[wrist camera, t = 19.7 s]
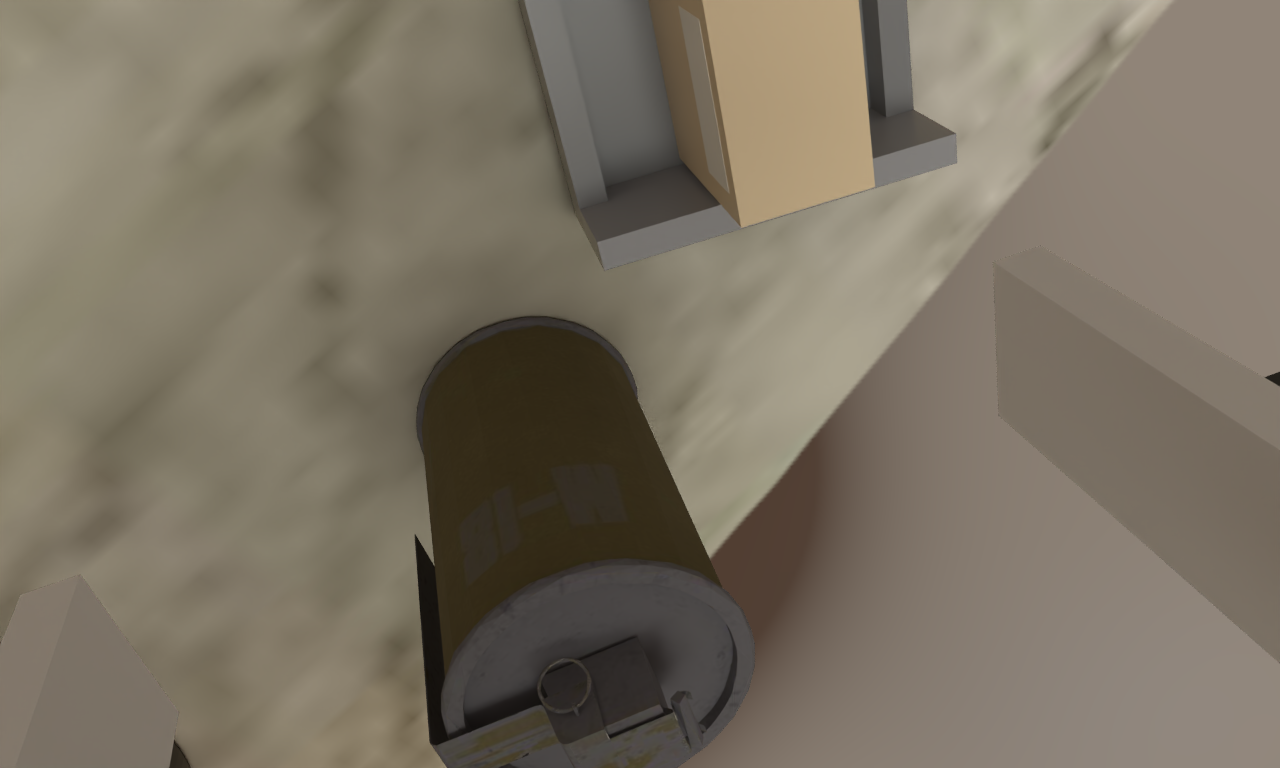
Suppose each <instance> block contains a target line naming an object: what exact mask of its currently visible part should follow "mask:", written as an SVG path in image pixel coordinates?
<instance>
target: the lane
mask: <svg viewBox="0 0 1280 768" xmlns="http://www.w3.org/2000/svg"><path fill="white" fill-rule="evenodd" d="M518 1H519V5H520V9H521V12H522V16H523V20H524V24H525V27H526V31H527V35H528V39H529V42H530V46H531V50H532V53H533V57H534V61H535V65H536V68H537V72H538V76H539V80H540V83H541V87H542V91H543V94H544V98H545V102H546V106H547V109H548V113H549V117H550V120H551V124H552V128H553V132H554V135H555V139H556V143H557V147H558V150H559V154H560V158H561V161H562V165H563V169H564V173H565V176H566V180H567V184H568V188H569V191H570V195H571V199H572V202H573V206H574V210H575V214H576V216H577V218H578V220H579V222H580V224H581V226H582V228H583V230H584V232H585V234H586V236H587V238H588V240H589V241H590V243H591V245H592V247H593V249H594V251H595V253H596V255H597V257H598V259H599V261H600V263H601V265H602V267H603V269H604V271H605V270H609V269H612V268H615V267H618V266H622V265H625V264H628V263H632V262H635V261H638V260H641V259H645V258H648V257H651V256H654V255H658V254H661V253H664V252H668V251H671V250H674V249H677V248H681V247H684V246H687V245H690V244H694V243H697V242H700V241H704V240H707V239H710V238H713V237H717V236H720V235H723V234H726V233H730V232H733V231H736V230H740V229H743V228H746V227H749V226H753V225H756V224H759V223H762V222H766V221H769V220H772V219H776V218H779V217H782V216H785V215H789V214H792V213H795V212H798V211H802V210H805V209H808V208H812V207H815V206H818V205H821V204H825V203H828V202H831V201H834V200H838V199H841V198H844V197H848V196H851V195H854V194H857V193H861V192H864V191H867V190H870V189H874V188H877V187H880V186H884V185H887V184H890V183H893V182H897V181H900V180H903V179H906V178H910V177H913V176H916V175H920V174H923V173H926V172H929V171H933V170H936V169H939V168H942V167H946V166H949V165H952V164H956V163H957V146H956V133H954V132H952V131H950V130H949V129H947V128H945V127H943V126H942V125H940V124H938V123H936V122H935V121H933V120H931V119H929V118H928V117H926V116H924V115H922V114H920V113H919V112H917V111H915V110H914V109H913V93H912V77H911V61H910V45H909V29H908V13H907V0H859V10H860V21H861V33H862V44H863V55H864V67H865V78H866V89H867V101H868V112H869V123H870V135H871V146H872V157H873V169H874V180H875V187H873V188H870V189H867V190H864V191H860V192H857V193H854V194H851V195H847V196H844V197H841V198H837V199H834V200H831V201H828V202H824V203H821V204H818V205H815V206H811V207H808V208H805V209H801V210H798V211H795V212H792V213H788V214H785V215H782V216H779V217H775V218H772V219H769V220H765V221H762V222H759V223H756V224H752V225H749V226H746V227H743V228H741V227H740V226H739V225H738V224H737V222H736V221H735V220H734V219H733V218H732V217H731V216H730V214H729V213H728V212H727V211H726V210H725V209H724V208H723V207H722V205H721V204H720V203H719V202H718V201H717V200H716V199H715V197H714V196H713V195H712V194H711V193H710V192H709V191H708V190H707V188H706V187H705V186H704V185H703V184H702V183H701V182H700V180H699V179H698V178H697V177H696V176H695V175H694V174H693V172H692V171H691V170H690V169H689V168H688V167H687V166H686V165H685V163H684V162H683V161H682V160H681V159H680V157H679V152H678V147H677V142H676V137H675V132H674V127H673V122H672V117H671V112H670V107H669V102H668V97H667V92H666V87H665V82H664V77H663V72H662V67H661V62H660V57H659V52H658V47H657V42H656V37H655V32H654V27H653V22H652V17H651V12H650V7H649V2H648V0H518Z"/></svg>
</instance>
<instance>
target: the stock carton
mask: <svg viewBox="0 0 1280 768" xmlns="http://www.w3.org/2000/svg"><path fill="white" fill-rule="evenodd" d="M648 2H649V7H650V12H651V17H652V22H653V27H654V32H655V37H656V42H657V47H658V52H659V57H660V62H661V67H662V72H663V77H664V82H665V87H666V92H667V97H668V102H669V107H670V112H671V117H672V122H673V127H674V132H675V137H676V142H677V147H678V152H679V157H680V159H681V160H682V161H683V162H684V163H685V165H686V166H687V167H688V168H689V169H690V170H691V171H692V172H693V174H694V175H695V176H696V177H697V178H698V179H699V180H700V182H701V183H702V184H703V185H704V186H705V187H706V188H707V190H708V191H709V192H710V193H711V194H712V195H713V196H714V197H715V199H716V200H717V201H718V202H719V203H720V204H721V205H722V207H723V208H724V209H725V210H726V211H727V212H728V213H729V214H730V216H731V217H732V218H733V219H734V220H735V221H736V222H737V224H738V225H739V226H740V227H741V228H743V227H746V226H749V225H752V224H756V223H759V222H762V221H765V220H769V219H772V218H775V217H779V216H782V215H785V214H788V213H792V212H795V211H798V210H801V209H805V208H808V207H811V206H815V205H818V204H821V203H824V202H828V201H831V200H834V199H837V198H841V197H844V196H847V195H851V194H854V193H857V192H860V191H864V190H867V189H870V188H873V187H875V180H874V169H873V157H872V146H871V135H870V123H869V112H868V101H867V89H866V78H865V67H864V55H863V44H862V33H861V21H860V10H859V0H648Z"/></svg>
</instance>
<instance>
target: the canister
mask: <svg viewBox="0 0 1280 768" xmlns="http://www.w3.org/2000/svg"><path fill="white" fill-rule="evenodd" d="M417 436H418V440H419V443H420V446H421V449H422V452H423V454H424V459H425V470H426V480H427V491H428V501H429V512H430V522H431V533H432V543H433V553H434V564H435V567H434V565H433V563H432V561H431V560H430V558H429V556H428V555H427V553H426V551H425V550H424V548H423V546H422V545H421V543H420V541H419V540H418V538H417V536H416V535H415V546H416V560H417V574H418V588H419V602H420V615H421V629H422V643H423V657H424V671H425V685H426V699H427V713H428V727H429V740H430V743H431V745H432V746H433V748H434V749H435V751H436V752H437V754H438V755H439V756H440V758H441V759H442V761H443V762H444V764H445V765H446V767H447V768H677V767H679V766H680V765H681V764H683V763H684V762H686V761H687V760H688V759H690V758H691V757H692V756H694V755H695V754H697V753H698V752H699V751H701V750H702V749H703V748H705V747H706V746H707V745H708V744H709V743H710V742H711V741H712V740H713V739H714V738H715V737H716V736H717V735H718V734H719V733H720V732H721V731H722V730H723V729H724V728H725V727H726V725H727V724H728V723H729V722H730V721H731V720H732V718H733V717H734V716H735V714H736V712H737V711H738V709H739V707H740V705H741V703H742V701H743V699H744V698H745V696H746V694H747V692H748V690H749V687H750V683H751V679H752V675H753V671H754V666H755V663H754V662H755V643H754V639H753V635H752V631H751V628H750V626H749V623H748V621H747V619H746V616H745V614H744V612H743V610H742V609H741V608H740V606H739V605H738V604H737V603H736V601H735V600H734V599H733V598H732V597H731V596H730V594H729V593H728V592H727V591H726V590H724V589H723V588H722V585H721V583H720V581H719V579H718V577H717V574H716V572H715V570H714V568H713V566H712V563H711V561H710V559H709V557H708V555H707V552H706V550H705V548H704V546H703V544H702V541H701V539H700V537H699V535H698V533H697V530H696V528H695V526H694V524H693V522H692V519H691V517H690V515H689V513H688V511H687V508H686V506H685V504H684V502H683V500H682V497H681V495H680V493H679V491H678V488H677V486H676V484H675V482H674V480H673V477H672V475H671V473H670V471H669V469H668V466H667V464H666V462H665V460H664V458H663V455H662V453H661V451H660V449H659V447H658V444H657V442H656V440H655V438H654V436H653V433H652V431H651V429H650V427H649V425H648V422H647V420H646V418H645V416H644V413H643V411H642V409H641V407H640V405H639V402H638V397H637V387H636V384H635V381H634V378H633V375H632V373H631V371H630V369H629V367H628V365H627V364H626V362H625V360H624V359H623V357H622V356H621V354H620V353H619V352H618V351H617V350H616V349H614V348H613V347H612V346H611V345H610V344H609V343H608V342H607V341H605V340H604V339H603V338H602V337H600V336H599V335H598V334H596V333H595V332H594V331H592V330H590V329H587V328H585V327H582V326H580V325H578V324H575V323H572V322H567V321H562V320H558V319H553V318H548V317H528V318H519V319H515V320H510V321H505V322H502V323H499V324H496V325H493V326H490V327H487V328H484V329H481V330H479V331H477V332H475V333H474V334H472V335H470V336H469V337H467V338H466V339H464V340H462V341H461V342H459V343H458V344H456V345H455V346H454V347H453V348H452V349H451V350H450V351H449V352H448V353H447V354H446V355H445V356H444V357H443V358H442V359H441V361H440V362H439V363H438V364H437V365H436V366H435V367H434V369H433V371H432V373H431V375H430V376H429V378H428V380H427V382H426V384H425V385H424V387H423V389H422V392H421V396H420V399H419V403H418V407H417Z"/></svg>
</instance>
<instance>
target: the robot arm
mask: <svg viewBox="0 0 1280 768" xmlns="http://www.w3.org/2000/svg"><path fill="white" fill-rule="evenodd" d="M993 276H994V303H995V329H996V330H995V331H996V356H997V387H998V412H999V413H998V415H999V416H1000V417H1001V418H1002V419H1003V420H1004V421H1005V422H1006V423H1008V424H1009V425H1010V426H1011V427H1012V428H1013V429H1014V430H1015V431H1017V432H1018V433H1019V434H1020V435H1021V436H1022V437H1023V438H1025V439H1026V440H1027V441H1028V442H1029V443H1030V444H1031V445H1033V446H1034V447H1035V448H1036V449H1037V450H1038V451H1040V453H1042V454H1043V455H1044V456H1045V457H1046V458H1047V459H1048V460H1050V461H1051V462H1052V463H1053V464H1054V465H1055V466H1056V467H1058V468H1059V469H1060V470H1061V471H1062V472H1063V473H1065V475H1066V476H1068V477H1069V478H1070V479H1071V480H1072V481H1073V482H1074V483H1076V484H1077V485H1078V486H1079V487H1080V488H1081V489H1082V490H1083V491H1085V492H1086V493H1087V494H1088V495H1089V496H1090V497H1091V498H1093V499H1094V500H1095V501H1096V502H1097V503H1098V504H1099V505H1101V506H1102V507H1103V508H1104V509H1105V510H1106V511H1107V512H1108V513H1110V514H1111V515H1112V516H1113V517H1114V518H1115V519H1117V520H1118V521H1119V522H1120V523H1121V524H1122V525H1123V526H1124V527H1126V528H1127V529H1128V530H1129V531H1130V532H1131V533H1132V534H1133V535H1135V536H1136V537H1137V538H1138V539H1139V540H1140V541H1141V542H1143V543H1144V544H1145V545H1146V546H1147V547H1148V548H1149V549H1150V550H1152V551H1153V552H1154V553H1155V554H1156V555H1157V556H1158V557H1159V558H1161V559H1162V560H1163V561H1164V562H1165V563H1166V564H1167V565H1169V566H1170V567H1171V568H1172V569H1173V570H1175V572H1176V573H1178V574H1179V575H1180V576H1181V577H1182V578H1183V579H1184V580H1186V581H1187V582H1188V583H1189V584H1190V585H1191V586H1192V587H1194V588H1195V589H1196V590H1197V591H1198V592H1199V593H1200V594H1201V595H1203V596H1204V597H1205V598H1206V599H1207V600H1208V601H1209V602H1211V603H1212V604H1213V605H1214V606H1215V607H1216V608H1217V609H1219V610H1220V611H1221V612H1222V613H1223V614H1224V615H1225V616H1227V618H1229V619H1230V620H1231V621H1232V622H1233V623H1234V624H1236V625H1237V626H1238V627H1239V628H1240V629H1241V630H1242V631H1243V632H1245V633H1246V634H1247V635H1248V636H1249V637H1250V638H1251V639H1253V640H1254V641H1255V642H1256V643H1257V644H1258V645H1259V646H1260V647H1262V648H1263V649H1264V650H1265V651H1266V652H1267V653H1269V654H1270V655H1271V656H1272V657H1273V658H1274V659H1275V660H1276V661H1278V662H1279V663H1280V372H1278V373H1275V374H1272V375H1270V376H1267V377H1263V376H1261V375H1259V374H1258V373H1256V372H1254V371H1253V370H1251V369H1249V368H1247V367H1246V366H1244V365H1242V364H1241V363H1239V362H1237V361H1235V360H1234V359H1232V358H1230V357H1229V356H1227V355H1225V354H1224V353H1222V352H1220V351H1218V350H1217V349H1215V348H1213V347H1212V346H1210V345H1208V344H1207V343H1205V342H1203V341H1201V340H1200V339H1198V338H1196V337H1195V336H1193V335H1191V334H1190V333H1188V332H1186V331H1185V330H1183V329H1181V328H1179V327H1178V326H1176V325H1174V324H1173V323H1171V322H1169V321H1168V320H1166V319H1164V318H1163V317H1161V316H1159V315H1158V314H1156V313H1154V312H1152V311H1151V310H1149V309H1147V308H1145V307H1144V306H1142V305H1140V304H1139V303H1137V302H1136V301H1134V300H1132V299H1130V298H1129V297H1127V296H1125V295H1123V294H1122V293H1120V292H1119V291H1117V290H1115V289H1113V288H1112V287H1110V286H1108V285H1107V284H1105V283H1103V282H1102V281H1100V280H1098V279H1097V278H1095V277H1093V276H1091V275H1090V274H1088V273H1086V272H1085V271H1083V270H1081V269H1080V268H1078V267H1076V266H1074V265H1073V264H1071V263H1069V262H1067V261H1066V260H1064V259H1063V258H1061V257H1059V256H1057V255H1056V254H1054V253H1052V252H1051V251H1049V250H1047V249H1046V248H1044V247H1042V246H1038V247H1035V248H1032V249H1029V250H1026V251H1023V252H1020V253H1017V254H1014V255H1011V256H1009V257H1005V258H1003V259H1000V260H997V261H994V262H993ZM178 714H179V711H178V710H177V709H176V707H175V706H174V704H173V703H172V702H171V700H170V699H169V697H168V696H167V695H166V693H165V692H164V690H163V689H162V688H161V686H160V685H159V684H158V682H157V681H156V679H155V678H154V677H153V675H152V674H151V672H150V671H149V670H148V668H147V667H146V665H145V664H144V663H143V661H142V660H141V658H140V657H139V656H138V654H137V653H136V651H135V650H134V649H133V647H132V646H131V644H130V643H129V642H128V640H127V639H126V637H125V636H124V635H123V633H122V632H121V630H120V629H119V628H118V626H117V625H116V623H115V622H114V621H113V619H112V618H111V616H110V615H109V614H108V612H107V611H106V609H105V608H104V607H103V605H102V604H101V602H100V601H99V600H98V598H97V597H96V595H95V594H94V593H93V591H92V590H91V588H90V587H89V586H88V584H87V583H86V581H85V580H84V579H83V577H82V576H81V574H79V575H77V576H74V577H71V578H68V579H65V580H62V581H59V582H56V583H53V584H50V585H47V586H44V587H41V588H39V589H36V590H33V591H30V592H27V593H24V594H21V595H20V597H19V600H18V602H17V605H16V607H15V610H14V612H13V615H12V617H11V620H10V622H9V624H8V627H7V629H6V632H5V634H4V637H3V639H2V642H1V644H0V768H189V766H188V763H187V761H186V759H185V758H184V756H183V754H182V753H181V751H180V750H179V749H178V747H177V746H176V745H175V744H174V737H175V732H176V726H177V720H178Z"/></svg>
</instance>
